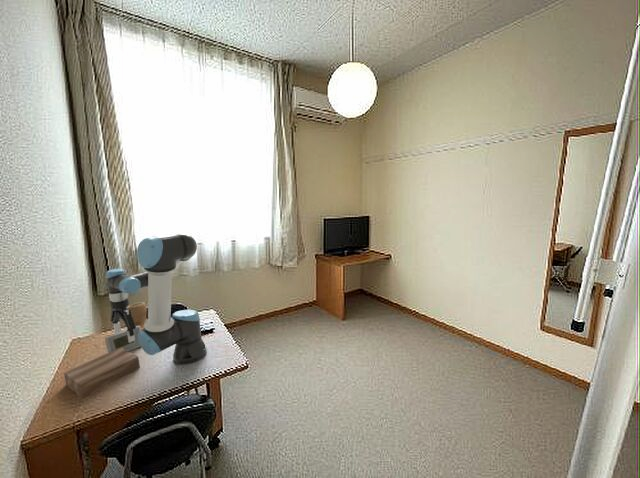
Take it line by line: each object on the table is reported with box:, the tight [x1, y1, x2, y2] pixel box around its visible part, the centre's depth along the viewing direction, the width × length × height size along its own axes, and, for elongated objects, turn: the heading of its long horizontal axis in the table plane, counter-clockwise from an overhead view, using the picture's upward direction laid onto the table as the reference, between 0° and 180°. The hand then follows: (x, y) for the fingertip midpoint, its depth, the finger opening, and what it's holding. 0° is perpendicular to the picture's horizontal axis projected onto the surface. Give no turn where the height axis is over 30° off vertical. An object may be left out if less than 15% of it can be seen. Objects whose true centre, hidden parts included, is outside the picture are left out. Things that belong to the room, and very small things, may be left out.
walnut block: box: [63, 348, 141, 399], centre depth 125 cm, size 16×22×6 cm
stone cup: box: [126, 301, 148, 331], centre depth 170 cm, size 15×12×15 cm
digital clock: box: [104, 326, 142, 353], centre depth 146 cm, size 16×9×11 cm, turn 133°
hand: (124, 337), depth 145 cm, fingers open, 13 cm apart
